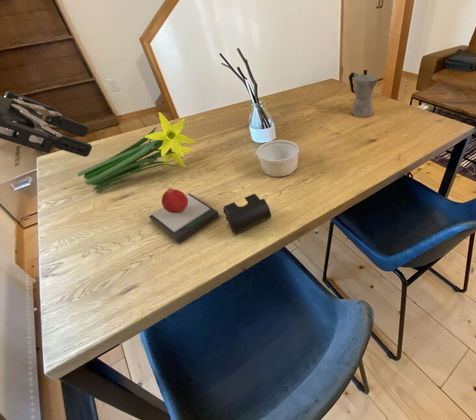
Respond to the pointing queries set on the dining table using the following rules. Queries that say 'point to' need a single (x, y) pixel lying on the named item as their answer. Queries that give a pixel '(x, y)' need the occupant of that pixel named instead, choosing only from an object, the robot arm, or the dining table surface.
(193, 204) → the kitchen scale
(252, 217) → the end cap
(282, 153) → the ramekin
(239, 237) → the dining table surface
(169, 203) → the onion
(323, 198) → the dining table surface
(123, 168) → the daffodil flowers
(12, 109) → the robot arm
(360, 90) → the coffeepot
